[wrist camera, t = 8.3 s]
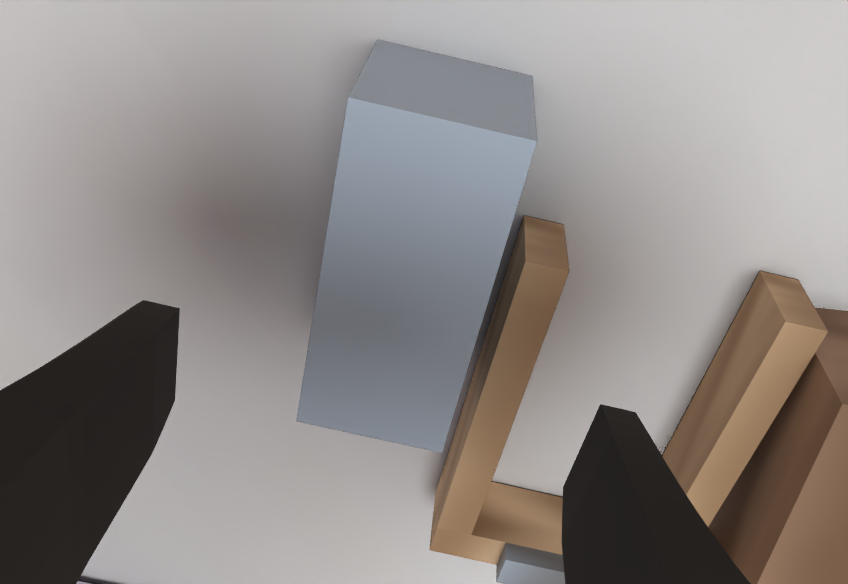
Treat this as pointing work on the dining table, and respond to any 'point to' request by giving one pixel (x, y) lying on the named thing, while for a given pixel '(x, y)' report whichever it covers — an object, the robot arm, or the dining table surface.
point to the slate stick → (414, 241)
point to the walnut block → (797, 479)
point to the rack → (687, 450)
